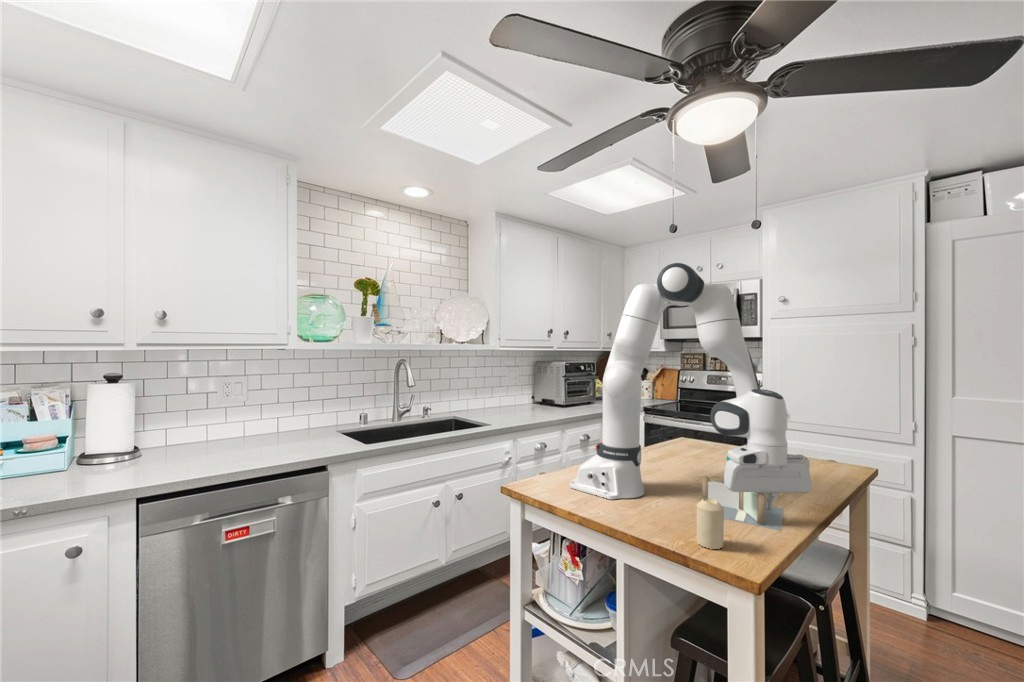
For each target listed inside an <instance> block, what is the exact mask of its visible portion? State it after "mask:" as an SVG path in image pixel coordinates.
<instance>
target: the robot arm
mask: <svg viewBox="0 0 1024 682" xmlns="http://www.w3.org/2000/svg"><path fill="white" fill-rule="evenodd" d="M687 307H690V308H691V309H692V311H693V313H694V319H695V325H696V332H697V333H696V334H697V337H698V339H699V343H700V345H701V347H702V349H703V350H704V351H705V352H707V353H708V354H710V355H711V356H713V357H716V358H717V359H719V360H720V361H721V362H723V363H724V365H726V367H727V368H728V370H729V372H730V376H731V379H732V384H733V386H734V391H735V394H736V395H735V396H736V397H734V398H730V399H725V400H721V401H719V402H717V403H715V404H714V405H713V407H712V408H711V410H710V422H711V425H712V427H713V429H714V430H715V431H716V432H717V433H719V434H721V435H722V436H726V437H737V436H744V437H746V439H747V440H746V441H747V442H746V443H745V444H744V445H740V446H737V447H734V448H731V449H728V451H727V456H728V457H729V458H730V460H728V461H727V460H726V463H725V466H724V473H723V475H724V476H723V483H724V484H725V486H726V487H727V488H728V489H729V490H730V491H732V492H755V493H756V494H758V493H761V494H765V510H773V507H774V503H775V502H776V500H777V499H778V497H779V496H778V493H786V494H787V493H791V494H792V493H795V494H796V493H797V494H804V493H805V494H808V493H809V492H810V491H811V490H812V478H811V474H810V473H811V472H810V469H811V468H810V460H809V458H808V457H806V455H805V456H804V455H803V454H789V453H788V441H787V437H786V433H787V430H788V413H787V406H786V405H787V403H786V401H785V398H784V397H783V395H781V394H779V393H778V392H777V391H774V390H773V391H772V390H768V389H763V388H761V387H760V383H759V379H758V376H757V373H756V369H755V366H754V362H753V359H752V355H751V353H750V350H749V348H748V346H747V344H746V339H745V337H744V334H743V331H742V326H741V325H742V324H741V320H740V316H739V315H740V314H739V310H738V308H737V307H738V306H737V303H736V300H735V298H734V296H733V293H732V291H731V289H730V288H729V287H728V286H726V285H724V284H721V283H720V284H719V283H712V284H705V281H704V279H702V278H701V277H700V275H699V274H698V273H697V272H696V271H695V269H693V267H691V266H690V265H687V264H685V263H682V262H674V263H671V264H668V265H667V266H665V267H663V268H662V269H661V271H660V272H659V273H658V276H657V279H656V283H645V282H644V283H639V284H636V285H635V287H633V289H632V291H631V293H630V294H629V297H628V299H627V300H626V303H625V305H624V309H623V311H622V314H621V317H620V320H619V323H618V324H619V325H618V327H617V330H616V334H615V337H614V339H613V340H614V341H613V344H612V348H611V350H610V353H609V356H608V360H607V363H606V366H605V369H604V373H603V377H602V425H601V426H602V430H601V431H602V433H601V434H602V436H601V437H602V440H600V441H599V443H597V444H596V445H595V446H594V451H596V454H594V455H593V456H591V457H590V458H588V459H587V460H586V461H583V463H582V464H581V465H579V467H578V469H577V474H576V475H577V476H576V477H574V478H572V479H571V480H570V482H569V488H570V489H574V490H577V491H581V492H583V493H586V494H590V495H594V496H596V495H597V497H600V498H603V497H604V498H603V499H606V498H607V499H608V500H617V499H634V498H640V497H642V496H644V495H645V493H646V491H645V487H644V484H643V479H642V472H641V463H642V445H640V440H641V439H640V433H641V432H640V431H641V430H640V429H641V427H640V426H641V425H640V421H641V407H642V406H641V405H642V404H641V403H642V378H641V377H642V375H643V371H644V369H645V365H646V363H647V360H648V358H649V355H650V353H651V350H652V347H653V344H654V341H655V338H656V337H655V336H656V334H657V331H658V328H659V327H658V326H659V325H660V324H659V323H660V321H661V317H662V314H663V312H664V311H665V309H675V308H676V309H678V308H681V309H682V308H687ZM766 497H767V498H766Z"/></svg>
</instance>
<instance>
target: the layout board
mask: <svg viewBox="0 0 1024 682" xmlns="http://www.w3.org/2000/svg"><path fill="white" fill-rule="evenodd" d="M722 507H723V508H724V520H728V521H732V522H738V523H741V524H742V523H743V524H747V525H751V526H755V527H756V526H757V527H761V528H766V529H771V530H775V531H780V532H781V530H782V524H783V523H782V522H783V514H784V508H782V507H777V506H773V510H765V524H759V523H757V521H756V520H755V519H754V518H752V517H751V516H750V515H749V514H748V513H746V512H745V511H744V510H741V509H740V508H739V509H735V508H730V507H725V506H722Z"/></svg>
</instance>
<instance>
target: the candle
mask: <svg viewBox="0 0 1024 682" xmlns="http://www.w3.org/2000/svg"><path fill="white" fill-rule="evenodd" d="M724 521H725V519H724V508H723V507H722V505H721V504H720V503H719V502H718V501H717V500H716V499H711V498H708V499H705V498H703V499H702V498H701V500H700V501H699V502H698V503H697V504H696V543H697V545H698V544H700V545H701V546H700V545H699V546H700V547H702V546H703V547H702V548H704V547H706V548H705V549H707V548H711V549H710V550H712V549H719V550H721V549H720V548H722V547H723V548H724V540H725V539H724V535H725V534H724V533H725V532H724V523H725V522H724ZM723 548H722V549H723Z"/></svg>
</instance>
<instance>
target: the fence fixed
mask: <svg viewBox="0 0 1024 682" xmlns="http://www.w3.org/2000/svg"><path fill="white" fill-rule="evenodd" d="M701 486H702V488H701V489H702V490H701V492H702V494H701V495H702V496H701V500H702V499H703V498H705V499H708V498H711V499H716V500H717V501H718V502H719V503H720V504H721V505H722V506H725V507H730V508H735V509H739V508H740V509H741V510H743V495H744V492H732V491H730V490H729V489H728V488H727V487H726V486H725V484H724V482H719V481H713V480H710V477H709V476H706V475H705V476H702V485H701Z"/></svg>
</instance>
